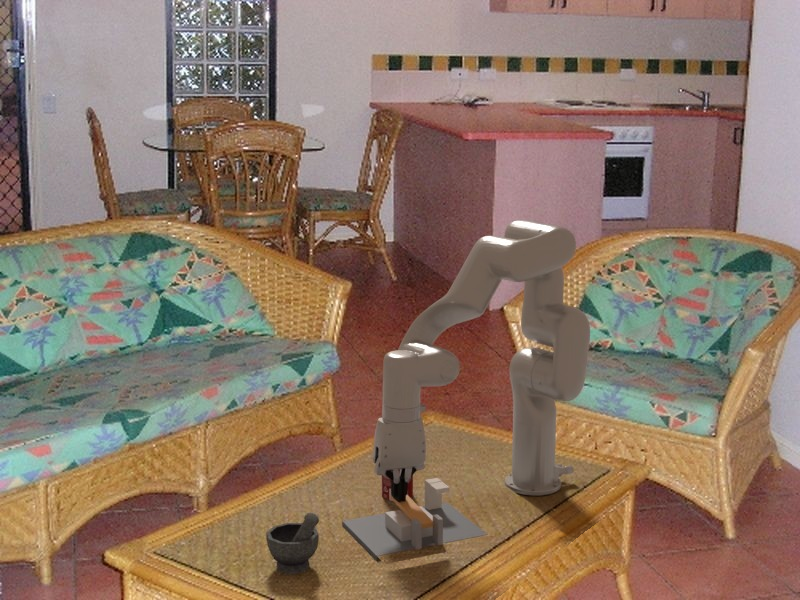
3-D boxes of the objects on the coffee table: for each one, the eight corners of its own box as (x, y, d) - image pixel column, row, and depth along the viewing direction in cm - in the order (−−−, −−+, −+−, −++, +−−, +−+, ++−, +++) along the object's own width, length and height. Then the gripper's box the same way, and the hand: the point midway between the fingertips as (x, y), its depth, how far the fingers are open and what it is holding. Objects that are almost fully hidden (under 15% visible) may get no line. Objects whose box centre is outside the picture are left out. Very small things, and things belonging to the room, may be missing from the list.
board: (446, 507, 247) (447, 478, 245) (488, 540, 230) (489, 510, 229) (342, 526, 237) (341, 496, 235) (378, 562, 220) (377, 531, 219)
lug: (437, 504, 245) (437, 477, 244) (449, 513, 240) (449, 486, 239) (424, 506, 244) (424, 479, 242) (436, 516, 239) (436, 489, 237)
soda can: (409, 507, 247) (409, 454, 244) (378, 504, 248) (378, 452, 245) (415, 495, 253) (415, 443, 250) (385, 493, 254) (385, 441, 252)
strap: (403, 495, 238) (404, 491, 238) (433, 526, 226) (433, 522, 226) (390, 498, 237) (390, 493, 237) (419, 529, 225) (419, 524, 224)
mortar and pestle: (256, 568, 218) (255, 508, 216) (291, 551, 225) (289, 493, 223) (300, 585, 211) (299, 524, 209) (334, 567, 219) (333, 508, 216)
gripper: (426, 403, 237) (424, 488, 241) (359, 411, 231) (357, 497, 235) (442, 414, 230) (440, 500, 234) (373, 422, 224) (372, 511, 228)
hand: (399, 499), depth 234 cm, fingers closed
